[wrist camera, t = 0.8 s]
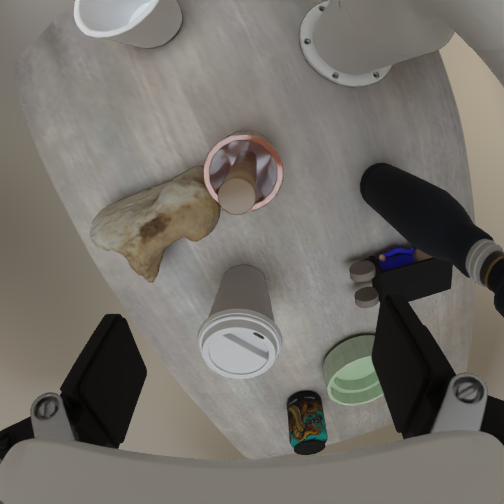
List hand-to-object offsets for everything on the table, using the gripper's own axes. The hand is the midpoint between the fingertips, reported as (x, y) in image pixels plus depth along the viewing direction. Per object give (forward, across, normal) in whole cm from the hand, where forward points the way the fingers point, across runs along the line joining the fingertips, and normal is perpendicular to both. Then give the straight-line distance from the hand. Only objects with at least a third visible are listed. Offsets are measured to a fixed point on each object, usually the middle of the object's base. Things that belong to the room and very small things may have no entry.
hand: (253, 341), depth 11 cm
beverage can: (+31, -6, +45) cm, 55 cm away
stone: (+31, +13, +5) cm, 34 cm away
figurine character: (+31, -19, +14) cm, 39 cm away
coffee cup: (+31, +3, +16) cm, 35 cm away
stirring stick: (+30, +1, -2) cm, 30 cm away
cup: (+31, +11, -23) cm, 40 cm away
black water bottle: (+31, -17, +2) cm, 35 cm away
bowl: (+31, -15, +34) cm, 48 cm away
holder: (+31, +1, -2) cm, 31 cm away
